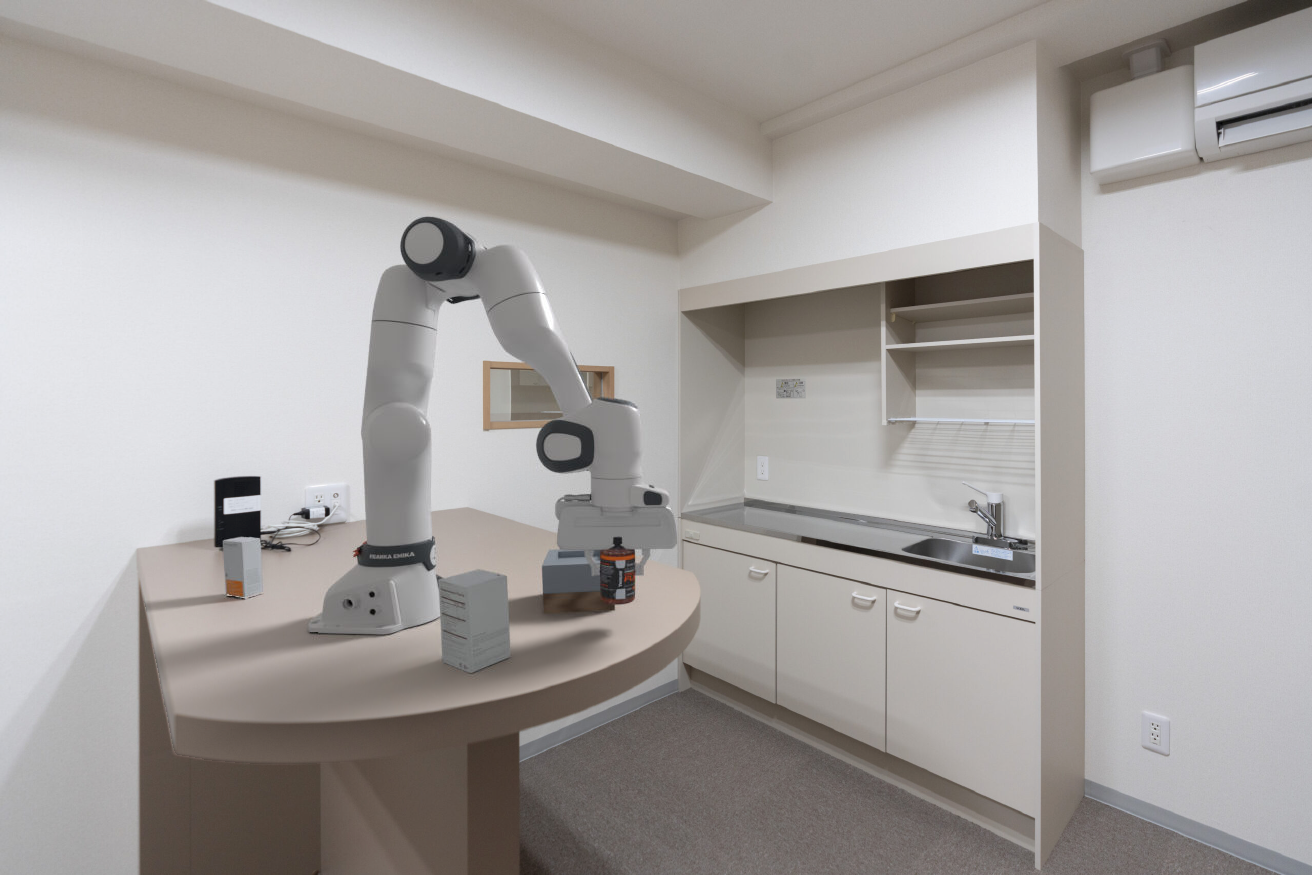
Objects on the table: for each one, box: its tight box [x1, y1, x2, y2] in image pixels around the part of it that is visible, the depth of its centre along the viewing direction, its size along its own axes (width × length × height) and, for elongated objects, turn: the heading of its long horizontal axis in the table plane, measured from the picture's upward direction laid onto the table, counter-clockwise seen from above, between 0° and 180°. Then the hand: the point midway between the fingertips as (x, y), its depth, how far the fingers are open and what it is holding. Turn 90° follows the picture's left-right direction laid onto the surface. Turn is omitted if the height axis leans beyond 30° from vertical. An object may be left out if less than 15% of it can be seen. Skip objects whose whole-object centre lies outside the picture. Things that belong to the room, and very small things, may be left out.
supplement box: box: [437, 568, 512, 674], centre depth 93 cm, size 7×7×13 cm
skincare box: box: [222, 536, 264, 597], centre depth 131 cm, size 6×4×12 cm
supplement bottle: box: [600, 537, 636, 606], centre depth 106 cm, size 6×6×11 cm
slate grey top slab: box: [541, 548, 601, 595], centre depth 121 cm, size 13×13×5 cm
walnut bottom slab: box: [542, 591, 616, 614], centre depth 121 cm, size 13×13×4 cm
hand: (617, 575), depth 106 cm, fingers closed on supplement bottle, 6 cm apart
